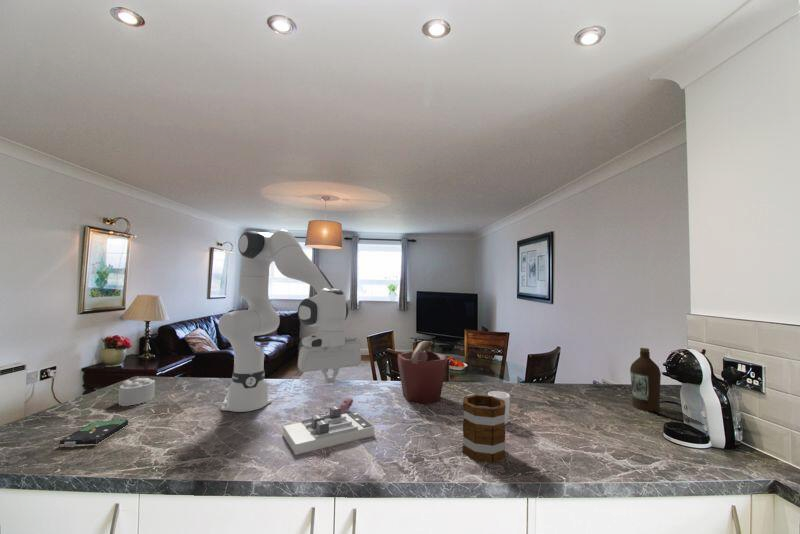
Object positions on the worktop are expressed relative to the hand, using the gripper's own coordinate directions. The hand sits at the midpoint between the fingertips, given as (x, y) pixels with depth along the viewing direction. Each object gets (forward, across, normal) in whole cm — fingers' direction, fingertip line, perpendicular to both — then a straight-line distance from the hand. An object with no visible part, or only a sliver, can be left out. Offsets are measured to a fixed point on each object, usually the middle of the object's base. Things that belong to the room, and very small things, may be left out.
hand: (329, 382), depth 108 cm
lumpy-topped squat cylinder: (+20, +56, -75) cm, 95 cm away
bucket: (+19, -52, -20) cm, 59 cm away
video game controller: (+19, -14, -20) cm, 31 cm away
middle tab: (+15, +2, -5) cm, 16 cm away
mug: (+19, -40, +26) cm, 51 cm away
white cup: (+19, -61, +15) cm, 66 cm away
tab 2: (+15, -6, -10) cm, 19 cm away
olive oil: (+18, -128, +36) cm, 134 cm away
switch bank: (+19, -2, -5) cm, 19 cm away
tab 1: (+15, +2, 0) cm, 16 cm away
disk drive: (+20, +62, -41) cm, 77 cm away
